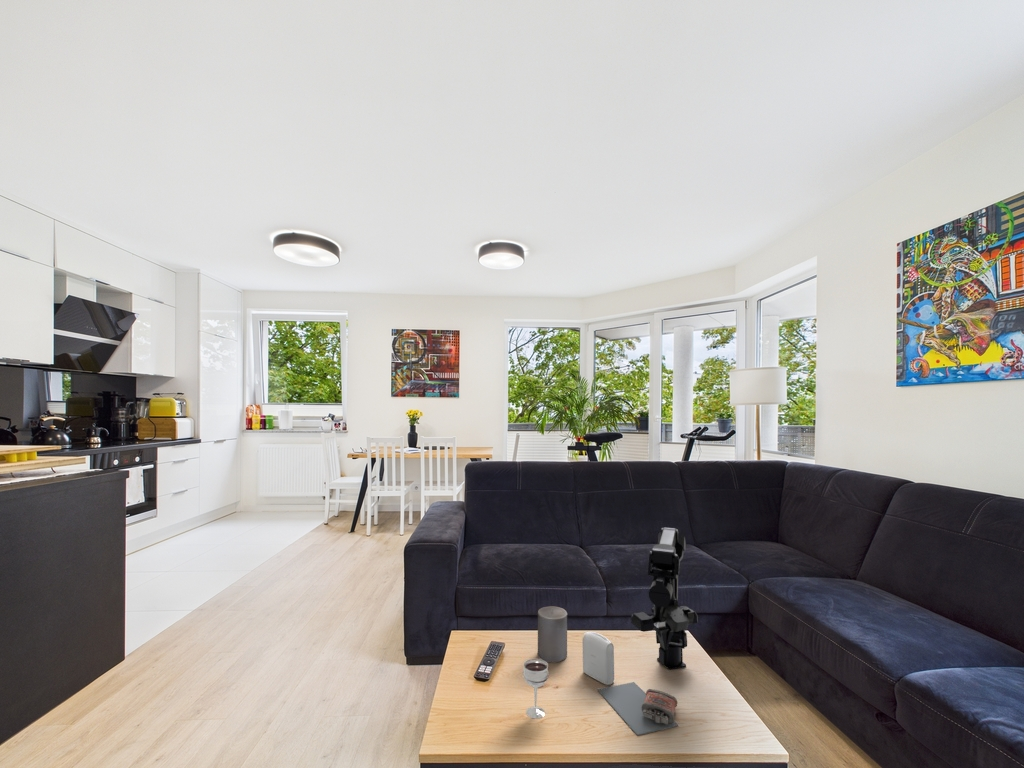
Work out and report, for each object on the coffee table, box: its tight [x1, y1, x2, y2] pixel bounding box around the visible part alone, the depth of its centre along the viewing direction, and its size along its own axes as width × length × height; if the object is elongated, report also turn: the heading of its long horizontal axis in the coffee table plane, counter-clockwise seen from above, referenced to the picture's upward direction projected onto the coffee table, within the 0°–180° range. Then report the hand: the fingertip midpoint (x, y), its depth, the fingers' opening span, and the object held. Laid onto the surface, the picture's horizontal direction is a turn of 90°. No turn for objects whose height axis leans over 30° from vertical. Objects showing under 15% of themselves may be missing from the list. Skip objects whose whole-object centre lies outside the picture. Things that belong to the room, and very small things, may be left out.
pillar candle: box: [537, 605, 568, 663], centre depth 153 cm, size 10×10×15 cm
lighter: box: [642, 688, 678, 724], centre depth 122 cm, size 8×3×10 cm
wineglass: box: [522, 658, 550, 719], centre depth 124 cm, size 7×7×12 cm
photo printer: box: [582, 631, 615, 686], centre depth 140 cm, size 10×4×12 cm, turn 39°
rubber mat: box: [597, 681, 679, 737], centre depth 126 cm, size 12×20×1 cm, turn 18°
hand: (664, 648), depth 134 cm, fingers closed
